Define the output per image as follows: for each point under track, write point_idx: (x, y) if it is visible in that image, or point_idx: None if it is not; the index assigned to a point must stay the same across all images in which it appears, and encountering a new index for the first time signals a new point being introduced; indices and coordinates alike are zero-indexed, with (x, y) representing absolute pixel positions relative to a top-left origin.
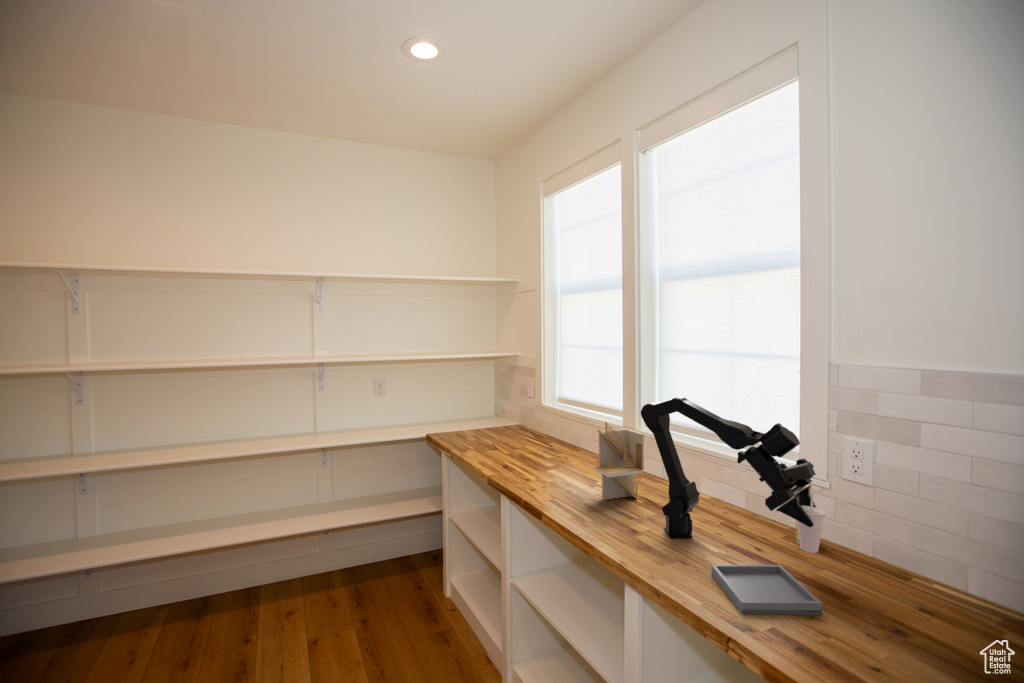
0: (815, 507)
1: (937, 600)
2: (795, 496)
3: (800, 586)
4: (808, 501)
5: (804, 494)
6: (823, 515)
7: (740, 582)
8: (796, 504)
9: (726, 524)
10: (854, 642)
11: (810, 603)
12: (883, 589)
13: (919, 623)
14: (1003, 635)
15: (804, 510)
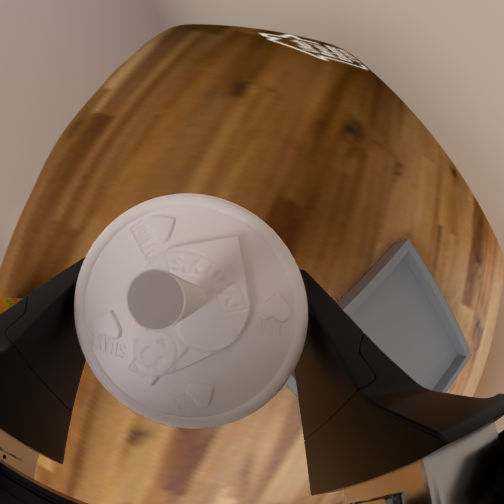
0: (65, 282)
1: (176, 76)
2: (37, 443)
3: (370, 293)
4: (40, 341)
5: (2, 386)
6: (219, 202)
7: None
8: (433, 394)
9: (64, 490)
10: (428, 192)
11: (421, 258)
12: (182, 143)
13: (297, 100)
14: (248, 33)
15: (217, 354)
